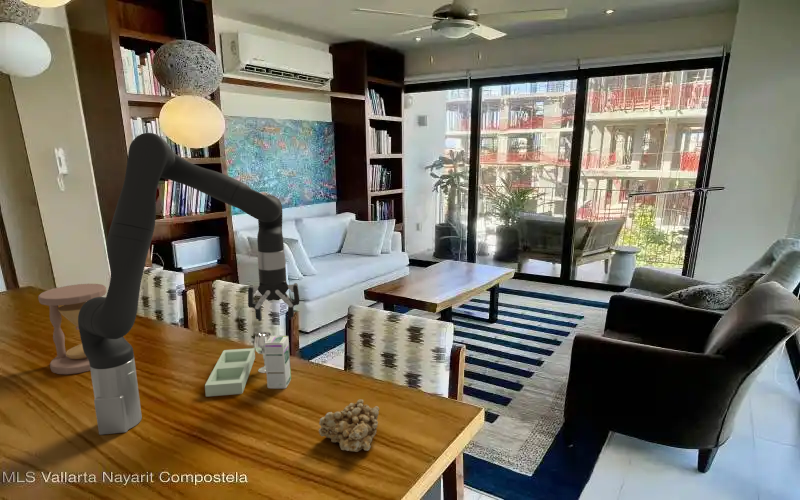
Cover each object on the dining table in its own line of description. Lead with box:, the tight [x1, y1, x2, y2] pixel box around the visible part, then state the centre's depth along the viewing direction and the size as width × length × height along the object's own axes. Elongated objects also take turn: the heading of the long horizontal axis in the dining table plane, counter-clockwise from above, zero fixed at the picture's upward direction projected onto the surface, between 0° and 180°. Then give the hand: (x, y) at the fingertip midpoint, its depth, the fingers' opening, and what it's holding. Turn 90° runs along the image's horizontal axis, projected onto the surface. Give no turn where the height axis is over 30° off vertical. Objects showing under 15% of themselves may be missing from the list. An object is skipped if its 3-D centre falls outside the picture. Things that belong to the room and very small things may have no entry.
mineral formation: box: [318, 399, 380, 453], centre depth 104 cm, size 8×13×15 cm
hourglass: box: [37, 283, 107, 375], centre depth 142 cm, size 18×18×25 cm
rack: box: [204, 347, 256, 397], centre depth 135 cm, size 24×10×4 cm, turn 10°
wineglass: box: [253, 331, 272, 374], centre depth 138 cm, size 6×6×12 cm
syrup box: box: [264, 334, 292, 390], centre depth 129 cm, size 6×6×14 cm
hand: (275, 319), depth 127 cm, fingers open, 8 cm apart
